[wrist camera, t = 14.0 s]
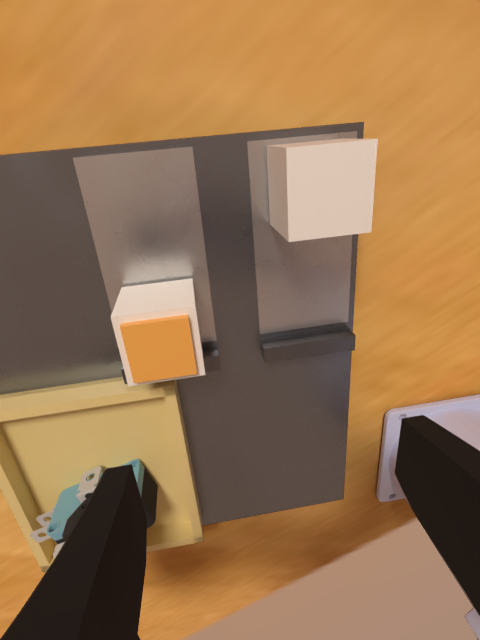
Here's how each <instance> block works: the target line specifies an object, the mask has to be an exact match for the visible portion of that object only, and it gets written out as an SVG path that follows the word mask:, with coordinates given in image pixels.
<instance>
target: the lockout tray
mask: <svg viewBox="0 0 480 640" xmlns="http://www.w3.org/2000/svg"><path fill="white" fill-rule="evenodd" d="M134 459H139V460H140V462H141V463H142V464H143V466H144V467H145V469H146V470H147V471H148V473H149V474H150V476H151V477H152V478H153V480H154V481H155V482H156V484H157V485H158V491H157V507H156V520H155V523H154V524H153V525H152V526H151V527H149V528H147V547H146V552H152V551H157V550H162V549H167V548H172V547H178V546H183V545H188V544H193V543H199V542H204V537H203V521H202V515H201V510H200V504H199V499H198V494H197V488H196V483H195V478H194V472H193V467H192V462H191V456H190V451H189V445H188V440H187V435H186V429H185V424H184V419H183V413H182V408H181V403H180V397H179V392H178V387H177V381H176V379H175V380H169V381H162V382H156V383H149V384H142V385H136V386H129V387H128V384H125V383H124V379H123V377H118V378H111V379H104V380H98V381H91V382H84V383H77V384H71V385H64V386H57V387H50V388H43V389H37V390H30V391H23V392H16V393H10V394H3V395H0V489H1V491H2V493H3V495H4V496H5V498H6V500H7V502H8V504H9V506H10V508H11V510H12V512H13V514H14V516H15V518H16V520H17V522H18V524H19V526H20V528H21V530H22V532H23V534H24V536H25V538H26V540H27V542H28V544H29V546H30V548H31V550H32V552H33V554H34V556H35V558H36V560H37V562H38V564H39V566H40V568H41V570H42V572H47V570H48V569H49V567H50V565H51V564H52V562H53V561H54V559H55V557H54V556H53V553H54V549H55V546H56V545H58V544H57V543H56V542H55V541H54V540H53V539H52V538H50V539H47V540H45V541H42V542H40V543H37V542H36V541H35V540H34V539H33V538H32V537H31V536H30V533H31V532H33V531H35V530H38V529H40V528H43V526H42V525H41V524H40V523H39V522H38V521H37V520H36V517H38V516H40V515H42V514H45V513H47V512H50V511H52V508H53V507H55V506H56V504H57V501H58V498H59V495H60V494H61V492H62V491H63V490H65V489H67V488H69V487H72V486H74V485H76V484H79V483H80V481H81V478H82V475H83V474H84V473H85V472H86V471H88V470H91V469H93V468H96V467H98V466H100V467H101V468H102V470H101V474H102V473H104V471H105V470H106V469H107V468H112V467H118V466H121V465H124V464H126V463H128V462H129V461H132V460H134ZM94 475H95V474H91V475H90V476H89V477H88V478H87V480H88V479H90V478H93V477H94ZM44 520H46V521H51V518H50V517H45V518H44ZM38 535H39V536H41V537H44V536H46V534H45V533H42V532H41V533H39V534H38Z"/></svg>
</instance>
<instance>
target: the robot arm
mask: <svg viewBox="0 0 480 640" xmlns="http://www.w3.org/2000/svg"><path fill="white" fill-rule="evenodd" d="M402 414H403V415H402ZM401 415H402V416H401ZM399 416H400V417H399ZM376 496H377V498H378V500H379V501H380V502H388V501H394V500H399V499H404V498H405V499H406V501H407V502H408V504H409V505H410V507H411V509H412V510H413V512H414V513H415V515H416V517H417V518H418V520H419V521H420V523H421V525H422V526H423V528H424V529H425V531H426V533H427V534H428V536H429V537H430V539H431V541H432V542H433V544H434V545H435V547H436V548H437V550H438V552H439V553H440V555H441V556H442V558H443V560H444V561H445V563H446V564H447V566H448V568H449V569H450V571H451V572H452V574H453V575H454V577H455V579H456V580H457V582H458V583H459V585H460V587H461V588H462V590H463V591H464V593H465V595H466V596H467V598H468V599H469V601H470V603H471V604H472V606H473V607H474V608H473V609H472V610H471V611H469V612H468V613H467V614H466V615H465V618H466V620H467V622H468V623H469V625H470V627H471V628H472V630H473V631H474V633H475V635H476V637H477V640H480V394H479V395H473V396H467V397H461V398H455V399H449V400H443V401H437V402H431V403H425V404H419V405H413V406H407V407H401V408H395V409H391V410H389V411H387V413H386V414H385V418H384V427H383V436H382V446H381V455H380V464H379V473H378V483H377V492H376ZM146 547H147V517H146V514H145V510H144V506H143V503H142V499H141V496H140V492H139V489H138V485H137V482H136V478H135V474H134V471H133V467H132V464H130V465H124V466H118V467H112V468H107V469H106V470H105V471H104V473H103V475H102V477H101V478H100V480H99V482H98V484H97V486H96V488H95V490H94V492H93V494H92V496H91V497H90V499H89V501H88V503H87V505H86V506H85V508H84V510H83V512H82V514H81V515H80V517H79V519H78V521H77V522H76V524H75V526H74V528H73V529H72V531H71V533H70V534H69V536H68V538H67V539H66V541H65V543H64V544H63V546H62V548H61V549H60V551H59V553H58V554H57V556H56V558H55V559H54V561H53V562H52V564H51V565H50V567H49V569H48V570H47V572H46V573H45V575H44V576H43V578H42V579H41V581H40V582H39V584H38V585H37V587H36V588H35V590H34V591H33V593H32V595H31V596H30V598H29V599H28V601H27V602H26V604H25V605H24V607H23V608H22V609H21V611H20V612H19V614H18V615H17V617H16V618H15V619H14V621H13V622H12V624H11V625H10V626H9V628H8V629H7V631H6V632H5V633H4V635H3V636H2V638H1V639H0V640H137V633H138V625H139V617H140V609H141V601H142V592H143V584H144V576H145V567H146Z"/></svg>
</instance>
